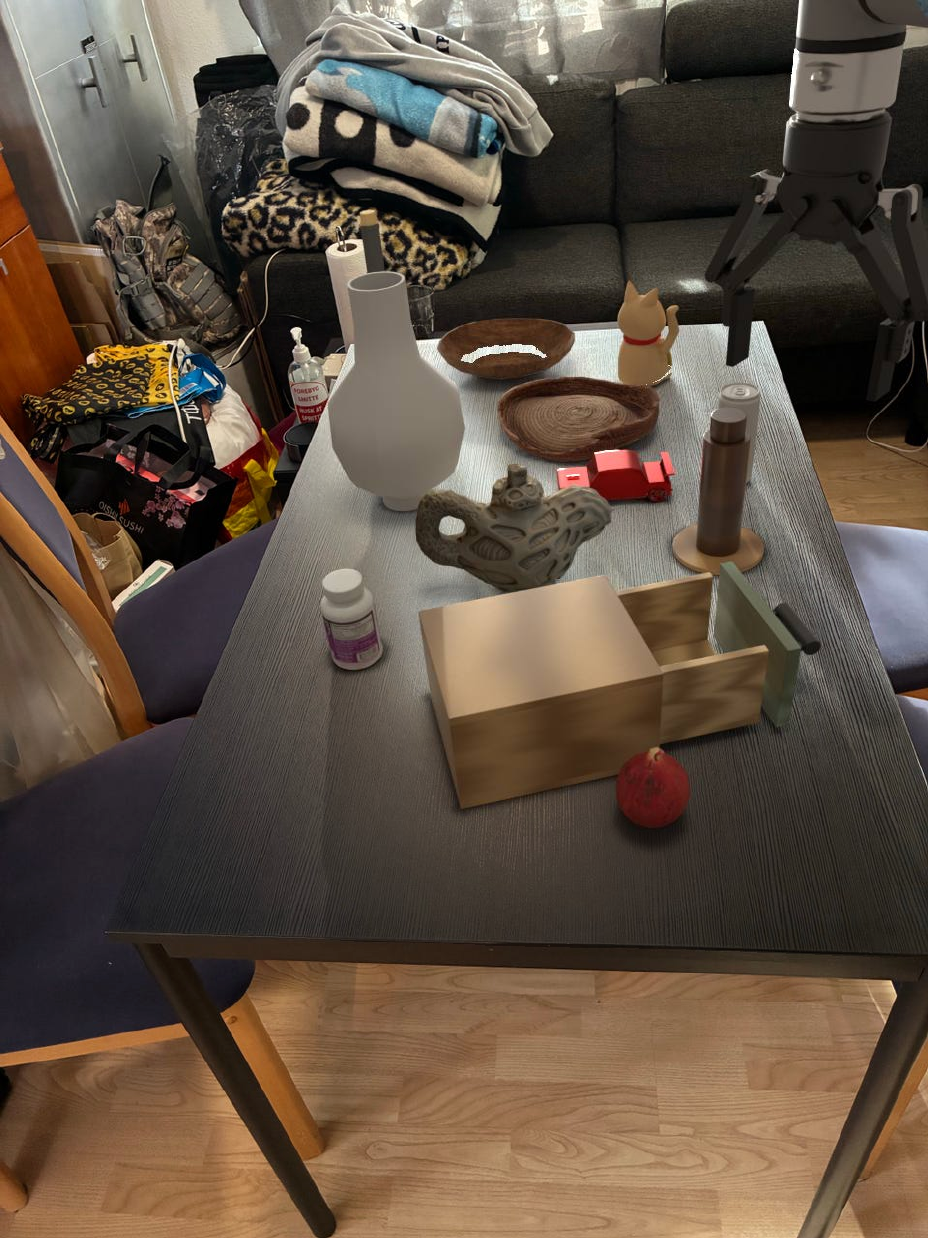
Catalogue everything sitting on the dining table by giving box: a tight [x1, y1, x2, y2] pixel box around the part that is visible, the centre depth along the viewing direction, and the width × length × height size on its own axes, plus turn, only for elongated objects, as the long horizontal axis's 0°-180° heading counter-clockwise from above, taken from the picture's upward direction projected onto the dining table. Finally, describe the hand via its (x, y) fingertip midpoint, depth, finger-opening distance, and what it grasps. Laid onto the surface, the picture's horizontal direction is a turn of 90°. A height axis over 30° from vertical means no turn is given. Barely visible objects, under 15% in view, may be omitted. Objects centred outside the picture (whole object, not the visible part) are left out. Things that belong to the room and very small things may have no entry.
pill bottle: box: [320, 568, 384, 671], centre depth 94 cm, size 5×5×10 cm
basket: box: [496, 376, 661, 463], centre depth 131 cm, size 22×20×5 cm
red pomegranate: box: [615, 747, 691, 829], centre depth 74 cm, size 6×6×8 cm
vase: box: [327, 270, 466, 512], centre depth 113 cm, size 17×16×28 cm
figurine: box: [617, 279, 680, 387], centre depth 139 cm, size 9×10×15 cm
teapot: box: [414, 463, 613, 593], centre depth 100 cm, size 21×12×15 cm, turn 99°
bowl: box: [436, 317, 576, 380], centre depth 150 cm, size 20×22×5 cm
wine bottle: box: [359, 209, 413, 325], centre depth 130 cm, size 8×8×30 cm
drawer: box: [615, 561, 822, 745], centre depth 85 cm, size 21×13×9 cm, turn 102°
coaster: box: [671, 523, 765, 576], centre depth 106 cm, size 10×10×1 cm
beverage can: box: [716, 382, 761, 485], centre depth 115 cm, size 5×5×12 cm
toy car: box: [556, 449, 676, 503], centre depth 116 cm, size 14×6×5 cm, turn 89°
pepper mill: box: [696, 408, 751, 557], centre depth 101 cm, size 5×5×16 cm
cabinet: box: [417, 574, 664, 810], centre depth 83 cm, size 18×15×11 cm
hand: (804, 377), depth 84 cm, fingers open, 13 cm apart
